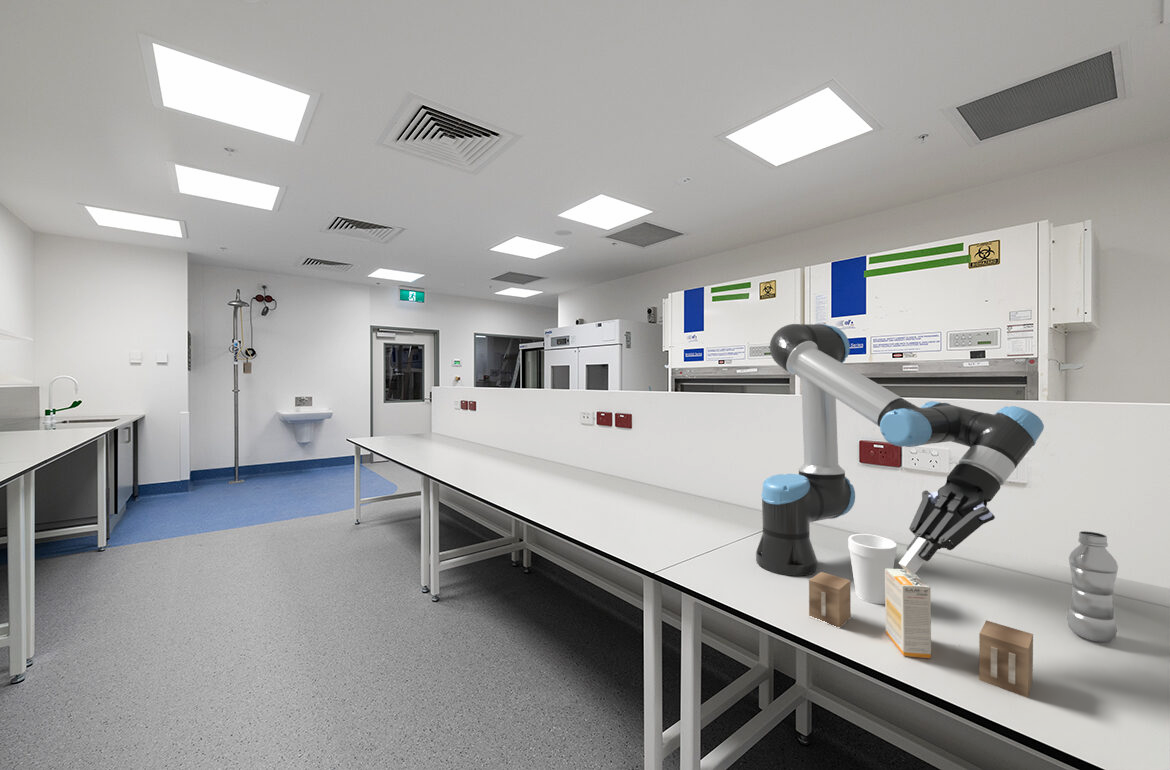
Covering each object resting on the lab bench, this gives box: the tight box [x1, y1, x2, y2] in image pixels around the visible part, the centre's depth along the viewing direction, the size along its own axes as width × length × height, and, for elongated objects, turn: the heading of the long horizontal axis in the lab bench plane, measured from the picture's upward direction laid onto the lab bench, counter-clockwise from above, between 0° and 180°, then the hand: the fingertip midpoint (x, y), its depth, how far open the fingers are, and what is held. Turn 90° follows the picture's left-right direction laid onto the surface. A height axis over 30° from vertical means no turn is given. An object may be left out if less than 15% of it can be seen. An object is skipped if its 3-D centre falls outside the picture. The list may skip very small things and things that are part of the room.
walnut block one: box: [808, 571, 852, 628], centre depth 100 cm, size 6×6×8 cm
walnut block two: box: [978, 620, 1034, 699], centre depth 79 cm, size 6×6×8 cm
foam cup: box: [847, 533, 898, 605], centre depth 108 cm, size 10×9×13 cm
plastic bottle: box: [1066, 530, 1119, 643], centre depth 91 cm, size 6×7×20 cm
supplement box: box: [884, 568, 932, 659], centre depth 89 cm, size 8×5×13 cm, turn 168°
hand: (906, 569), depth 89 cm, fingers closed
